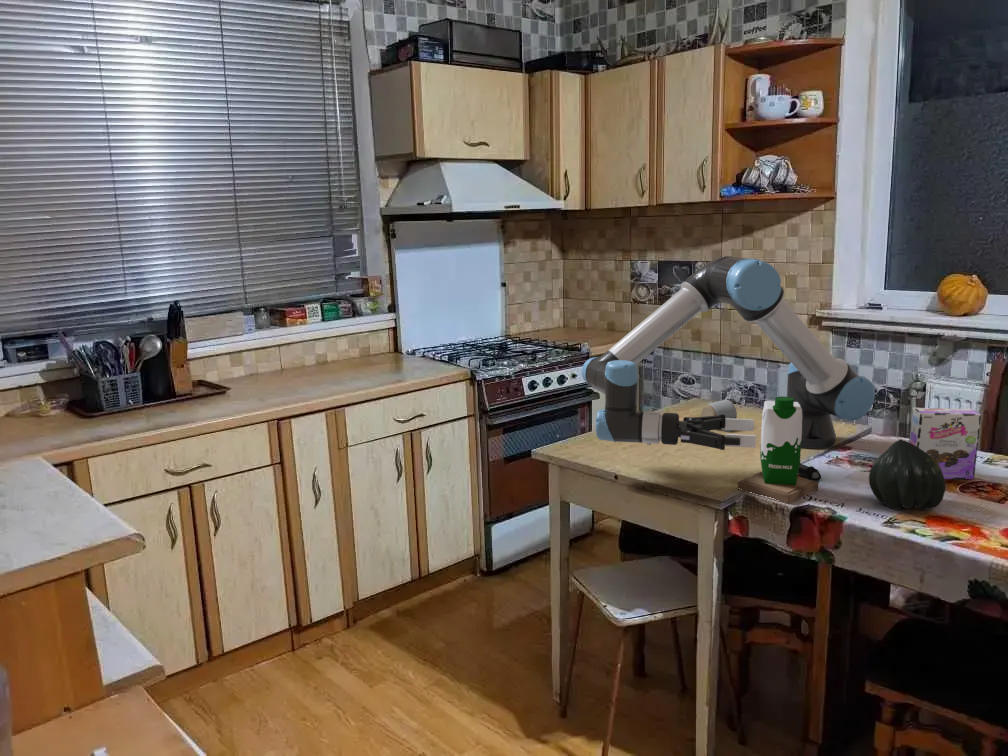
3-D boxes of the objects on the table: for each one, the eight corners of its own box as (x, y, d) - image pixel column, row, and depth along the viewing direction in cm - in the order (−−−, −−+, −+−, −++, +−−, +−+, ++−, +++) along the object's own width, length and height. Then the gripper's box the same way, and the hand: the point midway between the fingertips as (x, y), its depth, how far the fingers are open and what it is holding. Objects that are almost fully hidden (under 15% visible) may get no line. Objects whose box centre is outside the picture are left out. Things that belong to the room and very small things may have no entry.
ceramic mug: (698, 425, 249) (699, 400, 247) (719, 421, 252) (720, 397, 251) (722, 434, 240) (724, 408, 238) (744, 430, 243) (745, 405, 241)
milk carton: (760, 484, 191) (764, 400, 187) (757, 472, 200) (761, 391, 195) (800, 486, 189) (806, 401, 185) (796, 474, 198) (801, 392, 193)
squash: (948, 500, 171) (946, 435, 177) (869, 494, 176) (870, 431, 183) (941, 525, 182) (940, 462, 189) (867, 518, 188) (868, 458, 195)
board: (768, 476, 203) (769, 467, 203) (818, 490, 193) (818, 480, 193) (737, 489, 195) (738, 480, 194) (787, 504, 185) (788, 494, 185)
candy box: (913, 478, 200) (919, 412, 196) (905, 470, 205) (911, 406, 202) (974, 480, 198) (982, 413, 194) (965, 472, 204) (972, 407, 200)
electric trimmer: (778, 463, 214) (778, 451, 214) (822, 480, 200) (823, 467, 200) (766, 465, 213) (766, 453, 212) (810, 482, 199) (811, 470, 198)
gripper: (664, 429, 210) (752, 433, 205) (657, 459, 187) (755, 465, 181) (665, 400, 209) (753, 404, 203) (657, 427, 185) (757, 432, 180)
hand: (754, 433), depth 192 cm, fingers open, 13 cm apart
